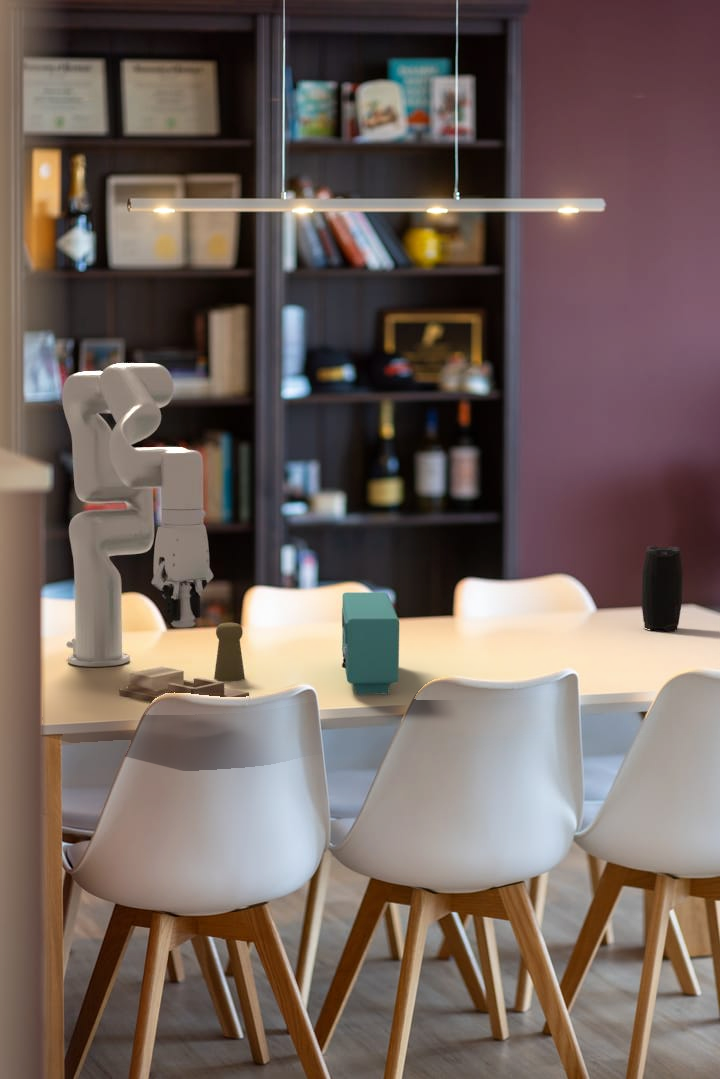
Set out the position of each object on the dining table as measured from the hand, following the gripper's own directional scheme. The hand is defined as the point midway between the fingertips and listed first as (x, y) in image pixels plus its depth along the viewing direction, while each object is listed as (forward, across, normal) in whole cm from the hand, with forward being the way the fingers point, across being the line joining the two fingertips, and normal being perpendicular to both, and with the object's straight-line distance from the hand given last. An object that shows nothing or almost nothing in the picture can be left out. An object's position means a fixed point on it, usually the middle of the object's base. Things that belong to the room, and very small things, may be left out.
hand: (183, 617), depth 270 cm
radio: (+16, -38, +12) cm, 42 cm away
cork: (+16, -20, -9) cm, 27 cm away
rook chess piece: (+2, 0, 0) cm, 2 cm away
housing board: (+16, -2, -2) cm, 16 cm away
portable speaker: (+16, -129, +26) cm, 132 cm away
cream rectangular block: (+14, -1, -9) cm, 17 cm away
